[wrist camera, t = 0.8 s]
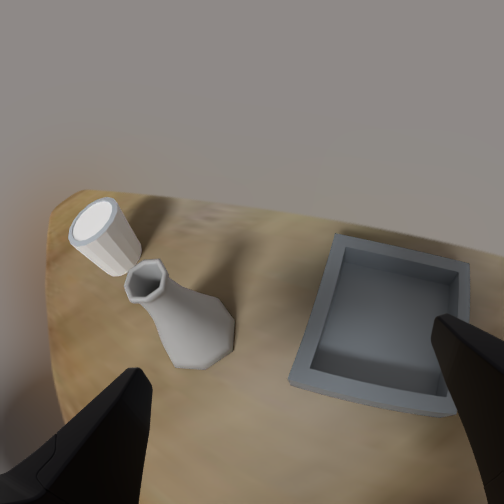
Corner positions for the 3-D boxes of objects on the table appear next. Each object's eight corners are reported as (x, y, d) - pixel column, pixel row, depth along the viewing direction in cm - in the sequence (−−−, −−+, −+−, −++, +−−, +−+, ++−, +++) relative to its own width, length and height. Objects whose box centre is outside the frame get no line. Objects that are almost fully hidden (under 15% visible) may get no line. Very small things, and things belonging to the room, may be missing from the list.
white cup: (153, 260, 32) (122, 220, 26) (106, 291, 30) (69, 257, 25) (138, 225, 35) (111, 187, 30) (96, 253, 34) (66, 219, 29)
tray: (440, 417, 16) (455, 414, 14) (290, 385, 21) (287, 378, 19) (457, 280, 23) (469, 263, 20) (334, 252, 28) (335, 233, 25)
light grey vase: (159, 310, 28) (102, 254, 20) (226, 288, 28) (188, 219, 20) (169, 379, 23) (99, 344, 15) (246, 358, 23) (206, 312, 15)
